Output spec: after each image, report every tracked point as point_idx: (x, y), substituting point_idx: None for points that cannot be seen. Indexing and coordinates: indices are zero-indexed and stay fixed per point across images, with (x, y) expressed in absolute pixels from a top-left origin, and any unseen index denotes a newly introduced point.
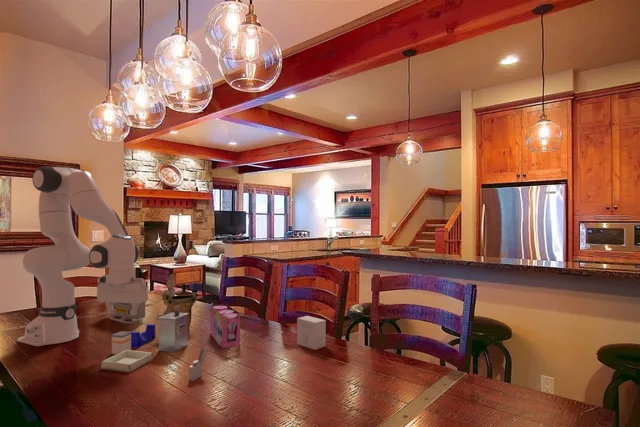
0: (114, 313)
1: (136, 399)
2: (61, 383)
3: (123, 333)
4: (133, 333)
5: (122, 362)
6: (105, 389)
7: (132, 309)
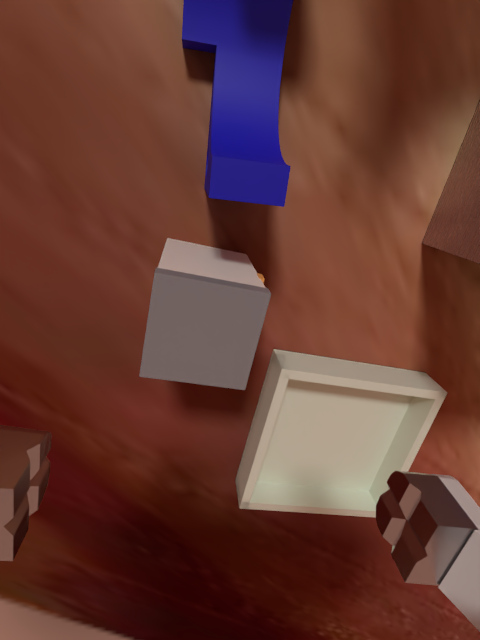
0: (50, 447)
1: (454, 607)
2: (172, 583)
3: (220, 335)
4: (242, 200)
5: (303, 437)
6: (345, 586)
7: (467, 611)
